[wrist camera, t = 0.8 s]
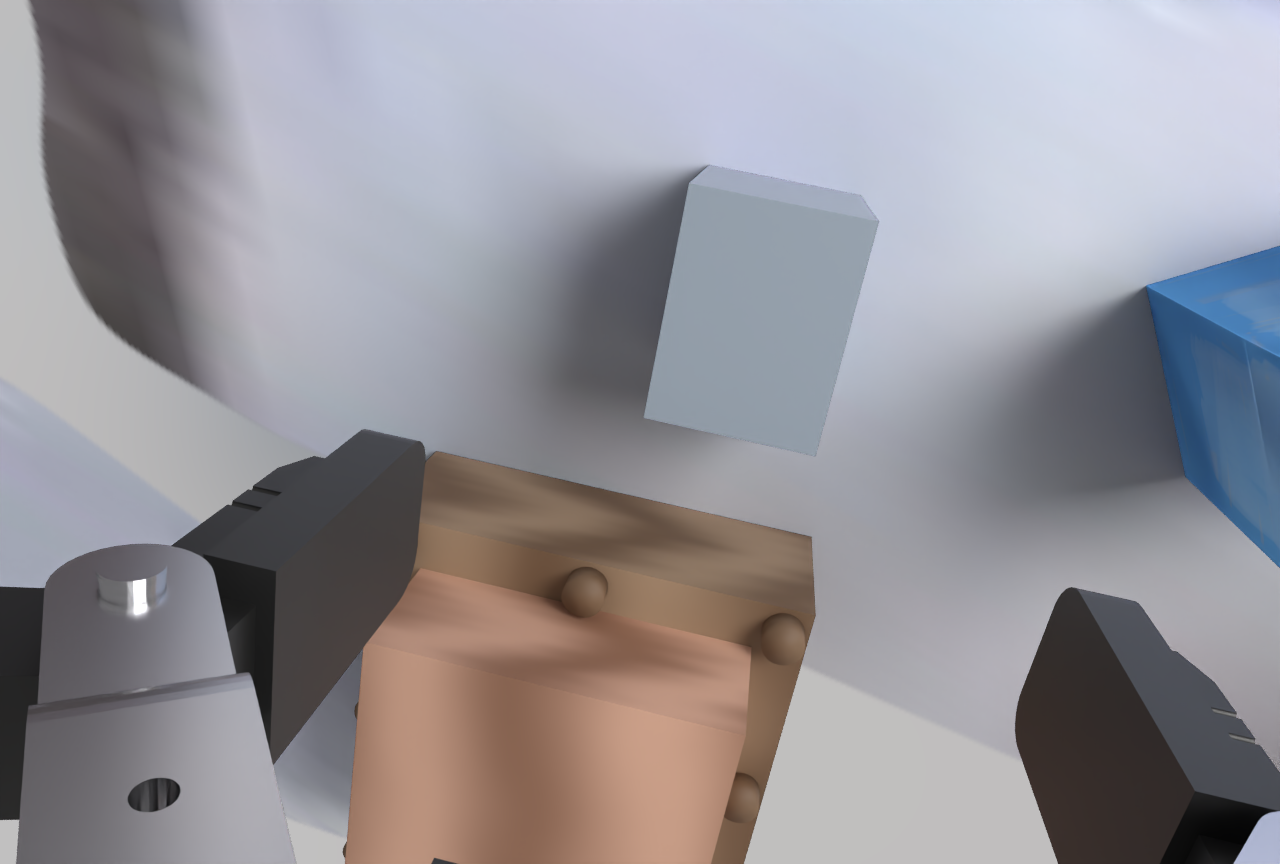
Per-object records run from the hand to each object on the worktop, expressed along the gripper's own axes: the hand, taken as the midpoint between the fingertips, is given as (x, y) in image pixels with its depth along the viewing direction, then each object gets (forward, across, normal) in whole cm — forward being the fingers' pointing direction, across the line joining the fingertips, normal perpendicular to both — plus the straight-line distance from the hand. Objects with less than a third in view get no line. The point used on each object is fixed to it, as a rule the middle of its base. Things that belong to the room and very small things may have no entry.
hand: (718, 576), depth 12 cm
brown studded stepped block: (+18, +3, +14) cm, 23 cm away
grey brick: (+18, 0, 0) cm, 18 cm away
